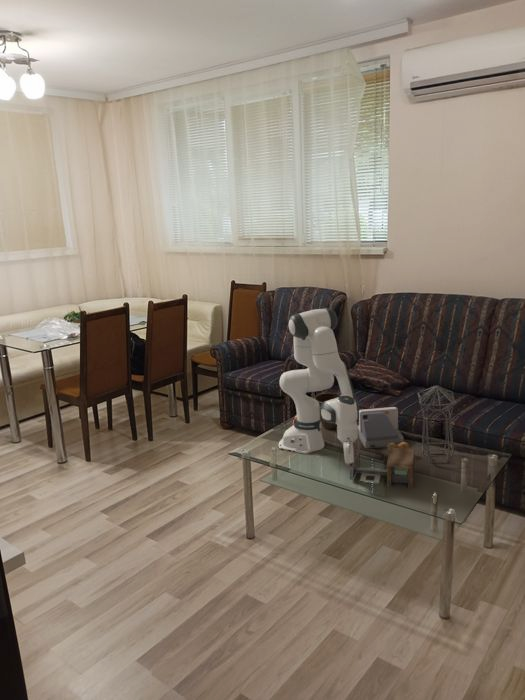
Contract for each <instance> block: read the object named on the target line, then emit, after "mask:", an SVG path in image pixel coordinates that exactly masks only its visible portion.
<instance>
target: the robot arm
mask: <svg viewBox="0 0 525 700" xmlns="http://www.w3.org/2000/svg"><path fill="white" fill-rule="evenodd" d="M337 325H338V316H337V314H336V312H335V311H334V309H332V308H329V307H323V308H318V309H317V308H316V309H310V310H308V311H303V312H300V313H295V314H293V315H291V316H290V317H289V319H288V325H287V326H288V330H289V332H290V335H292V336H293V357H294V360H295V361H296V363H298V364H300V365H302V366H305V367H307V368H305V369H292V370H288V371H284V372H282V374H281V375H280V378H279V387H280V389H281V390H282V391H283V392H284V393H285V394H287V395H288V396H290V398H291V399H292V400H293V402H294V405H295V409H296V415H295V416H293V421H292V426H290V427H289V428H287V429H286V430H285V432H284V433H283V436H282V438H281V439H280V440H279V442H278V445H277V446H279V448H283V449H287V450H291V451H290V452H293V451H295V452H294V453H298V454H304V455H305V454H309V453H312V452H317V451H320V450H322V449H323V448H324V447H325V441H324V439H323V434H322V427H323V426H322V423H321V418H320V414H321V417H322V419H323V420H325V421H326V422H328V423H336V424H337V427H336V438H337V439H338V441H340V443H342V447H343V456H344V457H343V458H344V463H345V464H346V465H347V466H349V465H350V463H354V451H355V450H354V443H355V442H356V441H357V439H359V436H358V425H359V424H358V423H357V422H358V419H359V410H360V405H359V400H358V399H357V396H356V394H355V391H354V387H353V382H352V380H351V377H350V372H349V370H348V367H347V365H346V363H345V361H343V360H341V357H340V354H339V350H338V344H337V340H336V337H335V332H334V331H333V330H336V327H337ZM335 377H336V380H337V382H338V386H339V390H340V391H339V392H340V395H341V396H340V397H338V398H335V399H331V400H328V401H326V402H323V403H322V404H321V407H319V403H318V401H317V400H315V397H314V398H313V397H310V396H308V395H307V393H311V392H312V393H313V392H322V391H326V390H329V389H331V388H332V387H333V385H334V383H335ZM280 445H281V446H280ZM279 448H278V449H279ZM287 450H286V451H287Z"/></svg>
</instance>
